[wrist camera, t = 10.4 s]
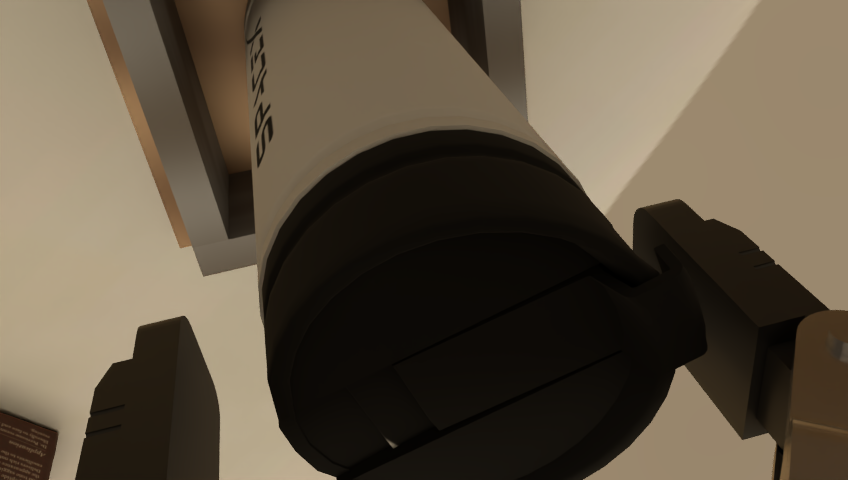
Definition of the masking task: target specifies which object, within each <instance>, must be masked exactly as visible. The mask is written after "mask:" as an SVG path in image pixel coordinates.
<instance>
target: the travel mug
mask: <svg viewBox="0 0 848 480" xmlns="http://www.w3.org/2000/svg"><path fill="white" fill-rule="evenodd" d="M244 34H245V53H246V71H247V89H248V107H249V125H250V143H251V162H252V180H253V198H254V216H255V234H256V252H257V268H258V288H259V302H260V316H261V319H262V322H263V325H264V331H265V346H266V360H267V378H268V384H269V387H270V391H271V395H272V398H273V402H274V405H275V409H276V413H277V416H278V420H279V428H280V430H281V431H282V432H283V434H284V435H285V437H286V438H287V440H288V441H289V443H290V444H291V445H292V447H293V448H294V450H295V451H296V452H297V453H298V454H299V455H300V456H301V457H303V458H304V459H305V460H306V461H307V462H308V463H309V464H310V465H312V466H313V467H314V468H315V469H316V470H317V471H320V472H323V473H325V474H328V475H331V476H334V477H336V479H337V480H583V479H585V478H586V477H588V476H590V475H591V474H593V473H594V472H596V471H598V470H600V469H601V468H603V467H604V466H606V465H607V464H608V463H609V462H611V461H612V460H613V459H614V458H616V457H617V456H618V455H619V454H620V453H622V452H623V451H624V450H625V449H627V448H628V447H629V446H630V445H631V444H632V443H633V442H634V441H635V439H636V438H637V437H638V436H639V435H640V434H641V433H642V432H643V431H644V429H645V428H646V427H647V426H648V425H649V424H650V423H651V421H652V420H653V418H654V416H655V415H656V413H657V411H658V410H659V408H660V406H661V405H662V403H663V402H664V400H665V398H666V397H667V394H668V391H669V388H670V385H671V382H672V380H673V377H674V374H675V369H677V368H678V367H681V366H682V365H685V364H687V363H689V362H691V361H693V360H695V359H697V358H699V357H701V356H702V355H704V354H705V353H706V351H707V349H708V345H707V340H706V326H705V322H704V319H703V315H702V311H701V307H700V303H699V300H698V297H697V294H696V292H695V289H694V286H693V283H692V280H691V278H690V276H689V274H688V273H687V271H686V269H685V268H684V266H683V265H682V263H681V262H680V260H679V259H678V258H677V256H676V255H675V254H674V253H673V252H672V251H671V250H670V249H669V248H668V247H667V246H666V245H665V244H661V245H659V246H657V247H655V248H654V250H655V253H656V256H657V259H658V262H659V265H660V268H661V271H662V274H660V273H659V272H658V271H657V270H656V269H654V268H653V267H652V266H650V265H649V264H648V263H647V262H645V261H644V260H643V259H642V258H640V257H639V256H638V255H636V254H635V253H634V252H633V250H632V249H631V248H630V247H629V246H628V245H627V244H626V243H625V241H624V240H623V239H622V238H621V237H620V236H619V234H618V233H617V232H616V231H615V230H614V228H613V226H612V224H611V223H610V222H609V221H608V220H607V218H606V217H605V216H604V215H603V214H602V213H601V212H600V210H599V209H598V208H597V207H596V206H595V205H594V204H593V203H592V202H591V200H590V199H589V197H588V196H587V195H586V193H585V191H584V189H583V187H582V186H581V184H580V182H579V181H578V179H577V178H576V177H575V176H574V175H573V174H572V173H571V172H570V170H569V169H568V168H567V167H566V166H565V165H564V164H563V163H562V161H561V160H560V159H559V158H558V156H557V155H556V154H555V153H554V152H553V151H552V150H551V148H550V147H549V146H548V145H547V144H546V143H545V141H544V140H543V139H542V138H541V137H540V136H539V135H538V133H537V132H536V131H535V130H534V129H533V128H532V126H531V125H530V124H529V123H528V122H527V121H526V120H525V118H524V117H523V116H522V115H521V114H520V113H519V112H518V110H517V109H516V108H515V107H514V106H513V105H512V103H511V102H510V101H509V100H508V99H507V98H506V97H505V95H504V94H503V93H502V92H501V91H500V90H499V88H498V87H497V86H496V85H495V84H494V83H493V82H492V80H491V79H490V78H489V77H488V76H487V75H486V73H485V72H484V71H483V70H482V69H481V68H480V67H479V65H478V64H477V63H476V62H475V61H474V60H473V59H472V57H471V56H470V55H469V54H468V53H467V52H466V50H465V49H464V48H463V47H462V46H461V45H460V44H459V42H458V41H457V40H456V39H455V38H454V37H453V35H452V34H451V33H450V32H449V31H448V30H447V29H446V27H445V26H444V25H443V24H442V23H441V22H440V20H439V19H438V18H437V17H436V16H435V15H434V14H433V12H432V11H431V10H430V9H429V8H428V7H427V5H426V4H425V3H424V2H423V1H422V0H248V2H247V5H246V11H245V19H244Z"/></svg>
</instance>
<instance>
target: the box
mask: <svg viewBox="0 0 848 480" xmlns="http://www.w3.org/2000/svg"><path fill="white" fill-rule="evenodd" d="M57 440H58V433H57V432H54V431H51V430H48V429H45V428H42V427H40V426H37V425H34V424H32V423H29V422H26V421H23V420H21V419H18V418H15V417H12V416H9V415H6V414H4V413H1V412H0V480H49V476H50V471H51V467H52V463H53V459H54V455H55V451H56V445H57Z"/></svg>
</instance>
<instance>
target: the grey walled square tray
mask: <svg viewBox="0 0 848 480" xmlns="http://www.w3.org/2000/svg"><path fill="white" fill-rule="evenodd" d="M422 1H423V2H424V3H425V4H426V5H427V7H428V8H429V9H430V10H431V11H432V12H433V14H434V15H435V16H436V17H437V18H438V19H439V20H440V22H441V23H442V24H443V25H444V26H445V27H446V29H447V30H448V31H449V32H450V33H451V34H452V35H453V37H454V38H455V39H456V40H457V41H458V42H459V44H460V45H461V46H462V47H463V48H464V49H465V50H466V52H467V53H468V54H469V55H470V56H471V57H472V59H473V60H474V61H475V62H476V63H477V64H478V65H479V67H480V68H481V69H482V70H483V71H484V72H485V73H486V75H487V76H488V77H489V78H490V79H491V80H492V82H493V83H494V84H495V85H496V86H497V87H498V88H499V90H500V91H501V92H502V93H503V94H504V95H505V97H506V98H507V99H508V100H509V101H510V102H511V103H512V105H513V106H514V107H515V108H516V109H517V110H518V112H519V113H520V114H521V115H522V116H523V117H524V118H525V120H526V121H527V122H528V116H527V100H526V84H525V68H524V51H523V35H522V19H521V3H520V0H422ZM87 2H88V5H89V7H90V10H91V13H92V15H93V18H94V21H95V23H96V26H97V29H98V31H99V34H100V37H101V39H102V42H103V45H104V47H105V50H106V53H107V55H108V58H109V61H110V63H111V66H112V68H113V71H114V74H115V76H116V79H117V82H118V84H119V87H120V90H121V92H122V95H123V98H124V100H125V103H126V106H127V108H128V111H129V114H130V116H131V119H132V122H133V124H134V127H135V130H136V132H137V135H138V138H139V140H140V143H141V146H142V148H143V151H144V154H145V156H146V159H147V162H148V164H149V167H150V169H151V172H152V175H153V177H154V180H155V183H156V185H157V188H158V191H159V193H160V196H161V199H162V201H163V204H164V207H165V209H166V212H167V215H168V217H169V220H170V223H171V225H172V228H173V231H174V233H175V236H176V239H177V241H178V244H179V247H180V248H183V247H188V246H192V247H193V250H194V252H195V255H196V258H197V261H198V263H199V266H200V269H201V272H202V274H203V277H204V276H208V275H212V274H217V273H221V272H225V271H229V270H234V269H238V268H242V267H247V266H251V265H255V264H257V252H256V234H255V216H254V198H253V180H252V162H251V143H250V125H249V107H248V89H247V71H246V53H245V34H244V19H245V11H246V5H247V2H248V0H87Z"/></svg>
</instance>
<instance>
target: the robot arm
mask: <svg viewBox="0 0 848 480" xmlns="http://www.w3.org/2000/svg"><path fill="white" fill-rule="evenodd" d="M661 244H665V245H666V246H667V247H668V248H669V249H670V250H671V251H672V252H673V253H674V254H675V255H676V256H677V258H678V259H679V260H680V262H681V263H682V265H683V266H684V268H685V269H686V271H687V273H688V274H689V276H690V278H691V280H692V283H693V286H694V289H695V292H696V294H697V297H698V300H699V303H700V307H701V311H702V315H703V319H704V322H705V326H706V340H707V345H708V349H707V351H706V353H705V354H704V355H702V356H701V357H699V358H697V359H695V360H693V361H691V362H689V363H687V364H685V366H686V368H687V369H688V370H689V372H690V373H691V374H692V375H693V376H694V378H695V379H696V381H697V382H698V383H699V385H700V386H701V387H702V388H703V390H704V391H705V392H706V393H707V395H708V396H709V397H710V399H711V400H712V401H713V403H714V404H715V405H716V407H717V408H718V409H719V410H720V411H721V413H722V414H723V416H724V417H725V418H726V419H727V421H728V422H729V423H730V425H731V426H732V427H733V428H734V430H735V431H736V432H737V433H738V435H739V436H740V437H741V439H742V440H744V439H748V438H751V437H755V436H759V435H762V434H765V433H769V434H770V435H771V436H772V438H773V439H774V440H775V441H776V447H775V453H774V460H773V471H772V480H848V311H845V310H829V309H828V308H827V307H826V306H825V305H824V304H823V303H821V302H820V301H819V300H818V299H817V298H816V297H815V296H814V295H813V294H811V293H810V292H809V291H808V290H807V289H806V288H805V287H804V286H802V285H801V284H800V283H799V282H798V281H797V280H795V279H794V278H793V277H792V276H791V275H790V274H789V273H788V272H787V271H785V270H784V269H783V268H782V267H781V266H780V265H776V264H775V261H774V260H773V259H772V258H771V257H770V256H769V255H767V254H766V253H765V252H764V251H760V249H759V247H758V246H757V245H756V244H755V243H754V242H753V241H752V240H750V239H749V238H748V237H747V236H746V235H745V234H744V233H743V232H741V231H740V230H738V229H736V228H733V227H731V226H729V225H726V224H724V223H722V222H720V221H717V220H715V219H710V220H706V221H704V220H703V219H702V218H701V217H700V216H699V215H697V214H696V213H695V212H694V211H693V210H692V209H691V208H690V207H689V206H688V205H687V204H686V203H684V202H683V201H682V200H680V199H675V200H672V201H668V202H663V203H659V204H655V205H650V206H646V207H643V208H639V209H637V210H636V212H635V214H634V223H633V252H634V253H635V254H636V255H638V256H639V257H640V258H642V259H643V260H644V261H645V262H647V263H648V264H649V265H650V266H652V267H653V268H654V269H656V270H657V271H658V272H659V273H660V274H662V271H661V268H660V265H659V262H658V259H657V256H656V253H655V250H654V248H655V247H657V246H659V245H661ZM90 415H91V417H90V418H89V419H88V423H87V428H86V432H85V434H86V438H84V442H83V446H82V451H81V455H80V460H79V464H78V469H77V473H76V478H75V480H219V443H220V412H219V404H218V398H217V394H216V390H215V386H214V383H213V380H212V378H211V375H210V373H209V370H208V368H207V365H206V363H205V360H204V358H203V355H202V353H201V350H200V347H199V345H198V342H197V340H196V337H195V335H194V332H193V330H192V327H191V325H190V323H189V321H188V319H187V318H186V317H185V316H180V317H176V318H172V319H168V320H164V321H160V322H155V323H151V324H147V325H143V326H140V327H139V328H138V330H137V335H136V341H135V347H134V353H133V359H129V360H125V361H121V362H117V363H113V364H112V365H111V367H110V368H109V370H108V371H107V372H106V374H105V375H104V377H103V378H102V379H101V381H100V382H99V384H98V385H97V386H96V388H95V391H94V396H93V401H92V405H91V410H90Z"/></svg>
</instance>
